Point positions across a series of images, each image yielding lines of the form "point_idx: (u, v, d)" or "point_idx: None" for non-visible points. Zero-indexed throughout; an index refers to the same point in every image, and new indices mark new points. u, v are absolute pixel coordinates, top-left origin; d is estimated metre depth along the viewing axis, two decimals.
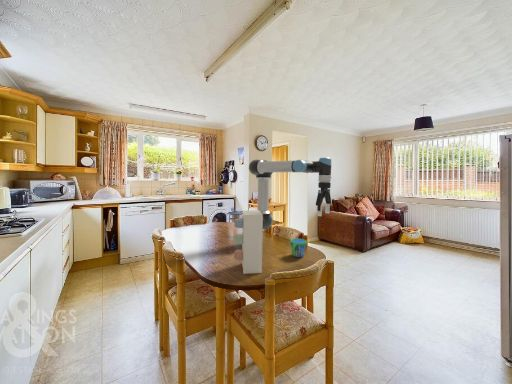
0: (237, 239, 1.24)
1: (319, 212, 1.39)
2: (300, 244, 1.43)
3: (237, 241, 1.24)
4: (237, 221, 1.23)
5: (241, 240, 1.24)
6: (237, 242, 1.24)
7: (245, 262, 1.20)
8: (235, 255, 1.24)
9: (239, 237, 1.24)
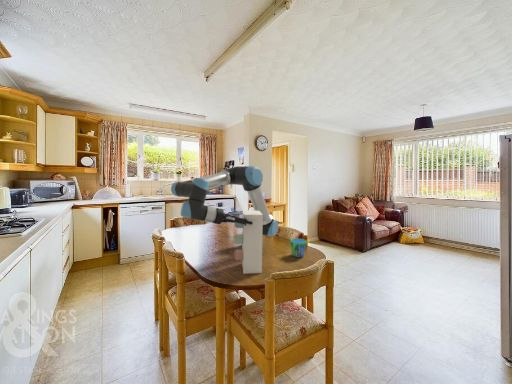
0: (237, 239, 1.24)
1: None
2: (300, 244, 1.43)
3: (237, 241, 1.24)
4: None
5: (241, 240, 1.24)
6: (237, 242, 1.24)
7: (245, 262, 1.20)
8: (235, 255, 1.24)
9: (239, 237, 1.24)
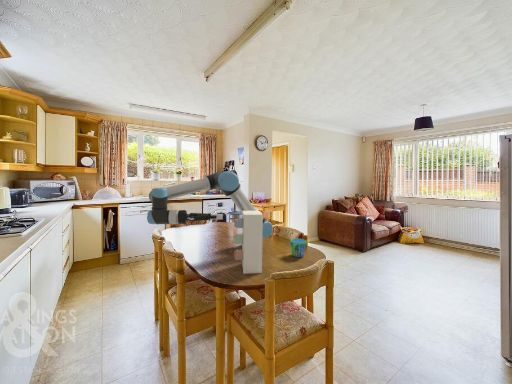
0: (237, 239, 1.24)
1: None
2: (300, 244, 1.43)
3: (237, 241, 1.24)
4: (237, 221, 1.23)
5: (241, 240, 1.24)
6: (237, 242, 1.24)
7: (245, 262, 1.20)
8: (235, 255, 1.24)
9: (239, 237, 1.24)
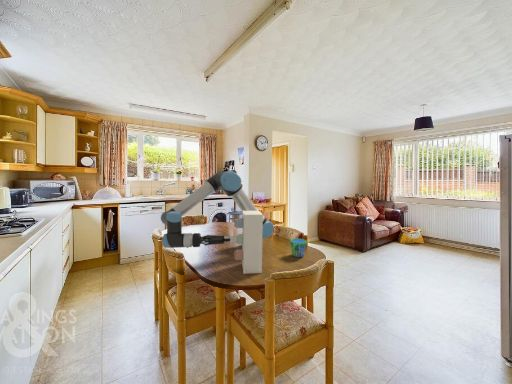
0: (239, 239, 1.24)
1: None
2: (300, 244, 1.43)
3: (239, 241, 1.24)
4: (237, 221, 1.23)
5: None
6: (239, 242, 1.24)
7: (245, 262, 1.20)
8: (235, 255, 1.24)
9: (241, 237, 1.24)
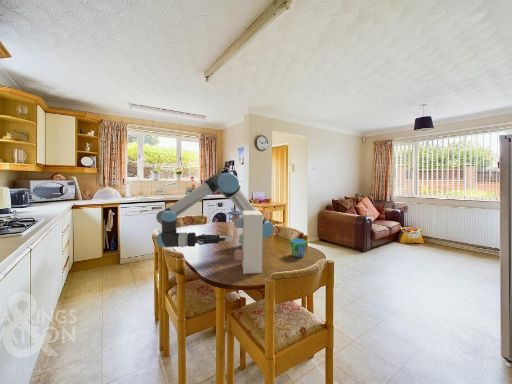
0: (242, 239, 1.24)
1: None
2: (300, 244, 1.43)
3: (242, 241, 1.24)
4: (237, 221, 1.23)
5: None
6: (242, 242, 1.24)
7: (245, 262, 1.20)
8: (235, 255, 1.24)
9: None
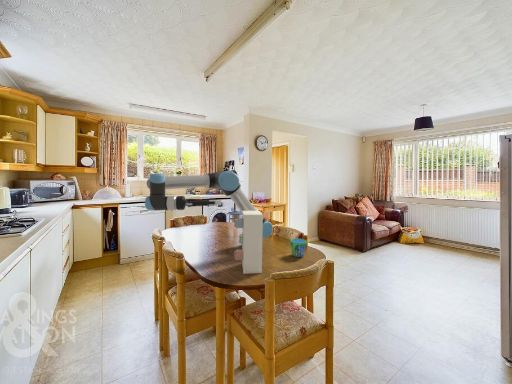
0: (242, 239, 1.24)
1: None
2: (300, 244, 1.43)
3: (242, 241, 1.24)
4: (237, 221, 1.23)
5: None
6: (242, 242, 1.24)
7: (245, 262, 1.20)
8: (235, 255, 1.24)
9: None
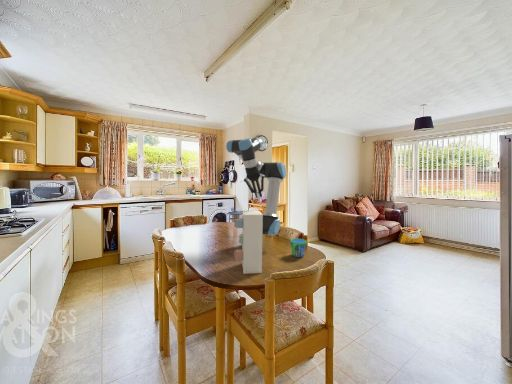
0: (242, 239, 1.24)
1: None
2: (300, 244, 1.43)
3: (242, 241, 1.24)
4: (237, 221, 1.23)
5: None
6: (242, 242, 1.24)
7: (245, 262, 1.20)
8: (235, 255, 1.24)
9: None
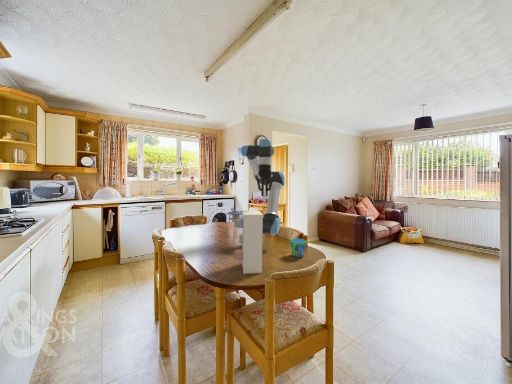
0: (242, 239, 1.24)
1: (263, 197, 1.42)
2: (300, 244, 1.43)
3: (242, 241, 1.24)
4: (237, 221, 1.23)
5: None
6: (242, 242, 1.24)
7: (245, 262, 1.20)
8: (235, 255, 1.24)
9: None
